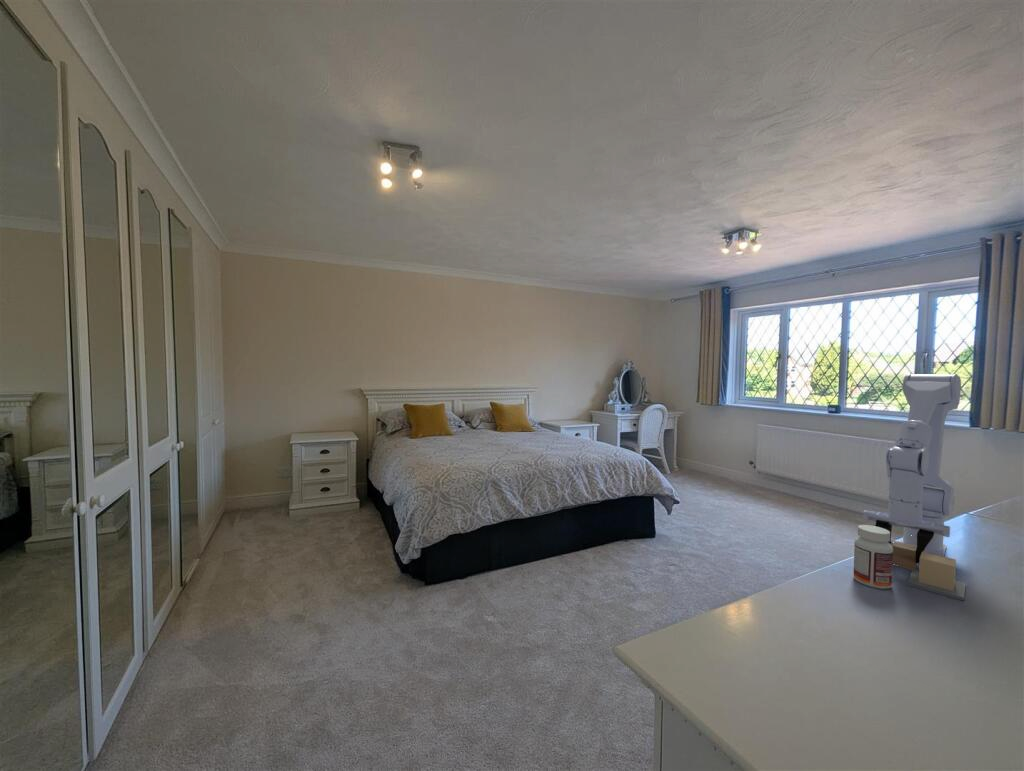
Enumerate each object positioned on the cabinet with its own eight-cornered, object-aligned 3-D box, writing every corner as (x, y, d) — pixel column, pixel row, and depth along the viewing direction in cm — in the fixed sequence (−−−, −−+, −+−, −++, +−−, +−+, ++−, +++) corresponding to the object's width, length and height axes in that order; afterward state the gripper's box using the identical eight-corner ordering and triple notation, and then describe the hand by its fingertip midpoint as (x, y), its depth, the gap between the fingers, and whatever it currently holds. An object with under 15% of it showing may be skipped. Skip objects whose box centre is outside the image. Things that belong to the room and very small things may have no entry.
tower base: (912, 571, 94) (913, 546, 93) (965, 585, 88) (966, 559, 87) (907, 584, 88) (908, 558, 87) (963, 600, 82) (965, 572, 81)
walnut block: (891, 558, 100) (892, 540, 100) (916, 564, 97) (917, 546, 97) (888, 563, 98) (889, 544, 97) (914, 570, 94) (915, 551, 94)
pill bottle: (893, 583, 88) (895, 529, 88) (890, 593, 84) (892, 537, 84) (855, 572, 93) (857, 521, 92) (850, 582, 88) (852, 528, 88)
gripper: (861, 495, 100) (859, 552, 100) (949, 511, 89) (946, 575, 89) (867, 490, 104) (864, 544, 105) (951, 504, 94) (948, 565, 94)
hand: (902, 558), depth 97 cm, fingers closed on walnut block, 4 cm apart
